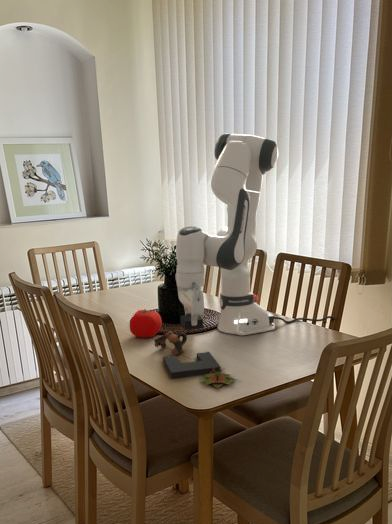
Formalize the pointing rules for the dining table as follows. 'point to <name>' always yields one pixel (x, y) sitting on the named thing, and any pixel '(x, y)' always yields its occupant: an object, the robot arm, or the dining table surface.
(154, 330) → the tomato
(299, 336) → the dining table surface
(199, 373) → the notched mat
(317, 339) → the dining table surface
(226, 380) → the lily flower
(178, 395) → the dining table surface
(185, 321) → the pad
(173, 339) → the brown animal figurine
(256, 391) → the dining table surface
